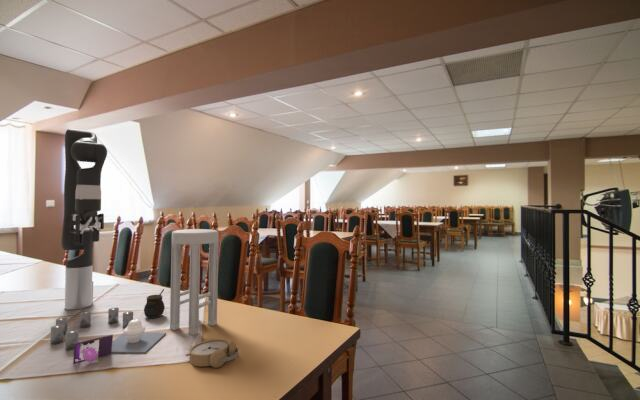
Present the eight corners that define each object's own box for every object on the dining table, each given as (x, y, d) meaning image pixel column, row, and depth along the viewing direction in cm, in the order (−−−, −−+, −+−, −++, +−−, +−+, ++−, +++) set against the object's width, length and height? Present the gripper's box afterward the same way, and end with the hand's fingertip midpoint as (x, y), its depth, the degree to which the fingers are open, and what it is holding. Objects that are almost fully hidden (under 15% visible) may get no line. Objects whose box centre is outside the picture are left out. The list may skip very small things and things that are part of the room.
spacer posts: (81, 320, 122) (82, 307, 122) (140, 320, 122) (140, 307, 122) (25, 350, 97) (25, 333, 97) (98, 350, 98) (98, 333, 98)
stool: (225, 323, 122) (226, 230, 122) (193, 338, 108) (195, 233, 108) (194, 316, 128) (196, 228, 128) (160, 330, 114) (162, 231, 114)
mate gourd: (139, 318, 125) (139, 292, 125) (155, 312, 132) (155, 287, 132) (153, 321, 122) (153, 294, 122) (168, 314, 130) (169, 289, 130)
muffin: (137, 345, 101) (138, 323, 101) (118, 344, 101) (119, 322, 101) (149, 337, 107) (149, 316, 107) (131, 336, 107) (131, 315, 107)
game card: (112, 332, 95) (74, 341, 89) (115, 344, 92) (75, 354, 86) (110, 351, 97) (72, 361, 91) (113, 363, 93) (74, 374, 87)
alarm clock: (207, 337, 102) (246, 337, 97) (209, 353, 102) (248, 354, 96) (179, 352, 92) (221, 353, 86) (181, 370, 91) (224, 372, 86)
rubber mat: (124, 334, 110) (124, 332, 110) (165, 334, 111) (166, 332, 111) (97, 353, 96) (97, 351, 96) (145, 353, 97) (145, 351, 97)
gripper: (91, 198, 123) (90, 240, 123) (62, 197, 109) (61, 245, 109) (111, 198, 123) (110, 240, 123) (85, 198, 109) (84, 246, 109)
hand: (87, 243), depth 116 cm, fingers open, 8 cm apart
